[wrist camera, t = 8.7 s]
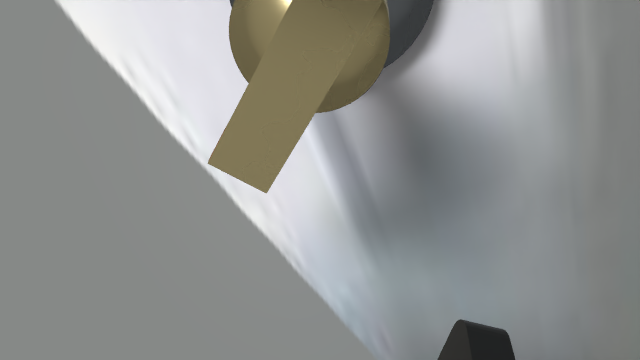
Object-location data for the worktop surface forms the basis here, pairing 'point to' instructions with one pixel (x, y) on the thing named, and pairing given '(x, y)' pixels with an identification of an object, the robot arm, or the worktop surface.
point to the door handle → (295, 75)
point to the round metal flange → (403, 24)
